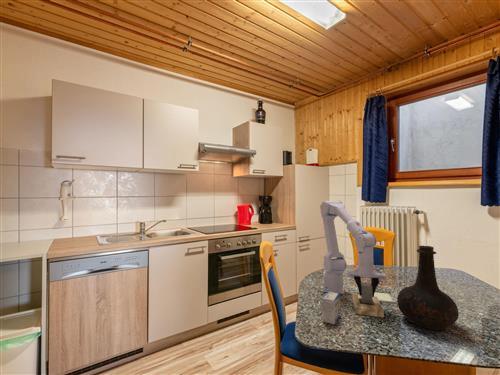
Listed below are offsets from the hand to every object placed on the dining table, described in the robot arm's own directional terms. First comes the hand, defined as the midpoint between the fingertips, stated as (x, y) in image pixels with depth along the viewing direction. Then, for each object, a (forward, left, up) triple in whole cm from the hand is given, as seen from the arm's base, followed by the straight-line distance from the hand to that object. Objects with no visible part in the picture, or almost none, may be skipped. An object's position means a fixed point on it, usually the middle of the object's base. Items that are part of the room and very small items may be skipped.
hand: (366, 295), depth 102 cm
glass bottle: (+19, -7, -5) cm, 21 cm away
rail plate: (0, 0, -5) cm, 5 cm away
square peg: (0, 0, -3) cm, 3 cm away
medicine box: (-14, -14, -5) cm, 20 cm away
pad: (+7, +13, -5) cm, 16 cm away
